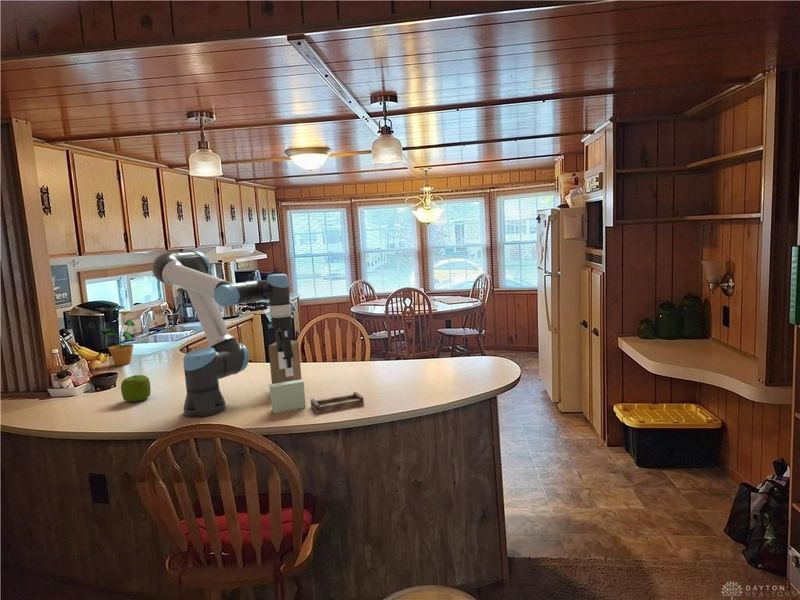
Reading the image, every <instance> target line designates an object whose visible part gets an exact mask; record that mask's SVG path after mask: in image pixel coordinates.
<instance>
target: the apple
mask: <svg viewBox="0 0 800 600" xmlns="http://www.w3.org/2000/svg"><path fill="white" fill-rule="evenodd" d="M120 384H121V385H120V391H121V396H122V399H123V400H124V401H126V402H130V403H137V402H143V401H145V400H147V399H148V398H149V397H150V396H151V382H150V378H149V377H147V375H143V374H134V375H130V376H129V377H126V378H124V379H123V380H122V381H121V383H120Z"/></svg>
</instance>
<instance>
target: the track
mask: <svg viewBox="0 0 800 600" xmlns="http://www.w3.org/2000/svg"><path fill="white" fill-rule="evenodd" d="M364 401H365V400H364V396H363V395H361V394H360V393H359V392H357V391H353V393H352V394H346V395H340V396H333V397H328V398H322V399H317V400H315V398H310V407H311V408H312V410H313V409H314V410H313V411H314V413H316V414H317V415H318V414H322V413H328V412H334V411H339V410H345V409H350V408H355V407H361V406H365V402H364Z"/></svg>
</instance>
